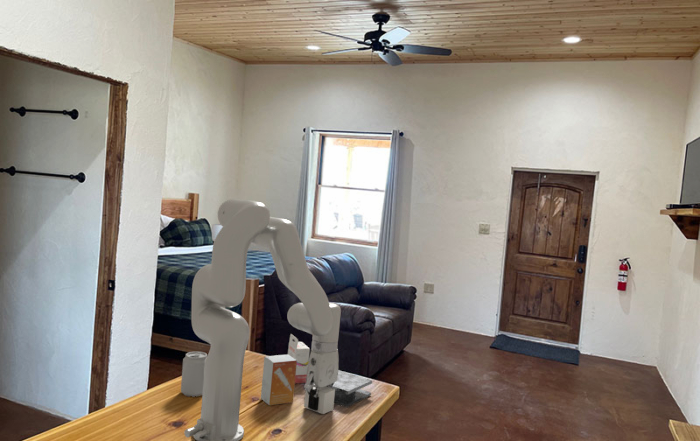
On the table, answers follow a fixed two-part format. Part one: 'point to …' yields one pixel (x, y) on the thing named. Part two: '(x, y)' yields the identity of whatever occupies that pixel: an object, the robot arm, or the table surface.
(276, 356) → the small box
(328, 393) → the block
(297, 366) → the ink cartridge box
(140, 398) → the table surface
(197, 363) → the can
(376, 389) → the table surface
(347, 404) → the stand
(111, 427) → the table surface
